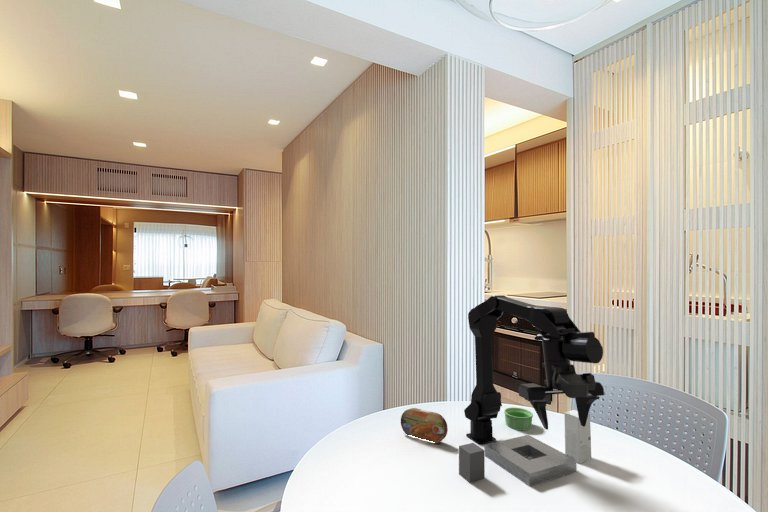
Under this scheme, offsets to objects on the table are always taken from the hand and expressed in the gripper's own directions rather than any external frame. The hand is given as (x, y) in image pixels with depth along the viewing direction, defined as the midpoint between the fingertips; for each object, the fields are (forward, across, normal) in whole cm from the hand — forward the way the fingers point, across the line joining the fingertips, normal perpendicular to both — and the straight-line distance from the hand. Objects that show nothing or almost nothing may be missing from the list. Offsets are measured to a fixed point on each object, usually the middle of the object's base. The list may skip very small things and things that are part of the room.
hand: (564, 427), depth 88 cm
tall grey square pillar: (+12, -21, +8) cm, 26 cm away
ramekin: (+10, +5, +37) cm, 39 cm away
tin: (+10, -28, +30) cm, 42 cm away
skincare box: (+13, +11, +16) cm, 23 cm away
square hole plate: (+12, -4, +13) cm, 19 cm away
